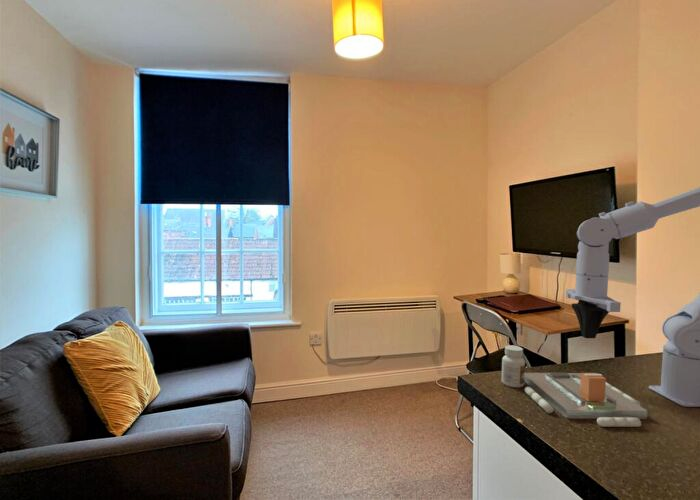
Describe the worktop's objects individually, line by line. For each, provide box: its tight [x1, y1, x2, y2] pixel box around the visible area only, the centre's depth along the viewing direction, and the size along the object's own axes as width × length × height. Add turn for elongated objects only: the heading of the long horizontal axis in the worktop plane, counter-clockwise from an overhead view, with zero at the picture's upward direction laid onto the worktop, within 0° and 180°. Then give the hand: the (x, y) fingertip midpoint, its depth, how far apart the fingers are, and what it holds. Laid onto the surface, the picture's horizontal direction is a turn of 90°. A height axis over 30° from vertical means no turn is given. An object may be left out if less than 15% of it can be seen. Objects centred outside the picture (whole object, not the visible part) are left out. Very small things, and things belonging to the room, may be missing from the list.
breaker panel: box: [524, 371, 648, 420], centre depth 71 cm, size 14×16×2 cm
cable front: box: [524, 386, 555, 414], centre depth 69 cm, size 1×8×1 cm, turn 0°
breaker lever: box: [580, 372, 607, 401], centre depth 66 cm, size 3×2×4 cm
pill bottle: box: [500, 344, 526, 388], centre depth 76 cm, size 4×4×8 cm
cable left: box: [596, 417, 642, 428], centre depth 60 cm, size 7×1×1 cm, turn 90°
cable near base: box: [606, 381, 642, 407], centre depth 71 cm, size 1×10×1 cm, turn 0°
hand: (588, 337), depth 78 cm, fingers closed
